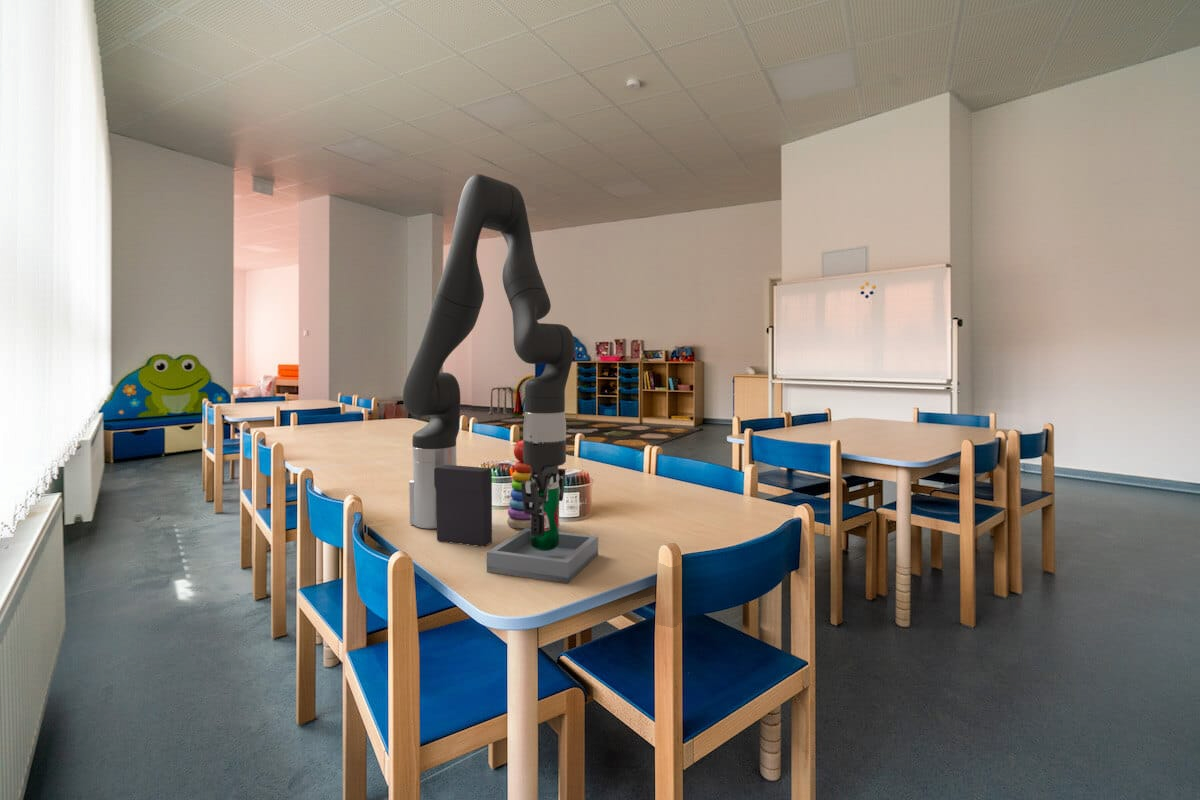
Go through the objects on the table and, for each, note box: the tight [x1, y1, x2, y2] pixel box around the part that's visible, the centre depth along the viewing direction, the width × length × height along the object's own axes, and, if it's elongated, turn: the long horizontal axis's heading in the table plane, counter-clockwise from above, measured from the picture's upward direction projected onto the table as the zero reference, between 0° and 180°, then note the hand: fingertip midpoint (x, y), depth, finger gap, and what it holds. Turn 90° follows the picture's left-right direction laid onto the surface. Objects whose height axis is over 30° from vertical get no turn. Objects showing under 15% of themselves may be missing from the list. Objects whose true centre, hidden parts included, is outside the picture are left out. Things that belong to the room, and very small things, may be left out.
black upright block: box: [434, 464, 493, 547], centre depth 117 cm, size 11×4×15 cm, turn 71°
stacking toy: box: [506, 439, 531, 530], centre depth 129 cm, size 8×8×19 cm
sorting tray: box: [486, 528, 599, 584], centre depth 105 cm, size 15×15×4 cm
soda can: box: [531, 481, 560, 551], centre depth 105 cm, size 5×5×12 cm
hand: (544, 531), depth 105 cm, fingers closed on soda can, 5 cm apart
